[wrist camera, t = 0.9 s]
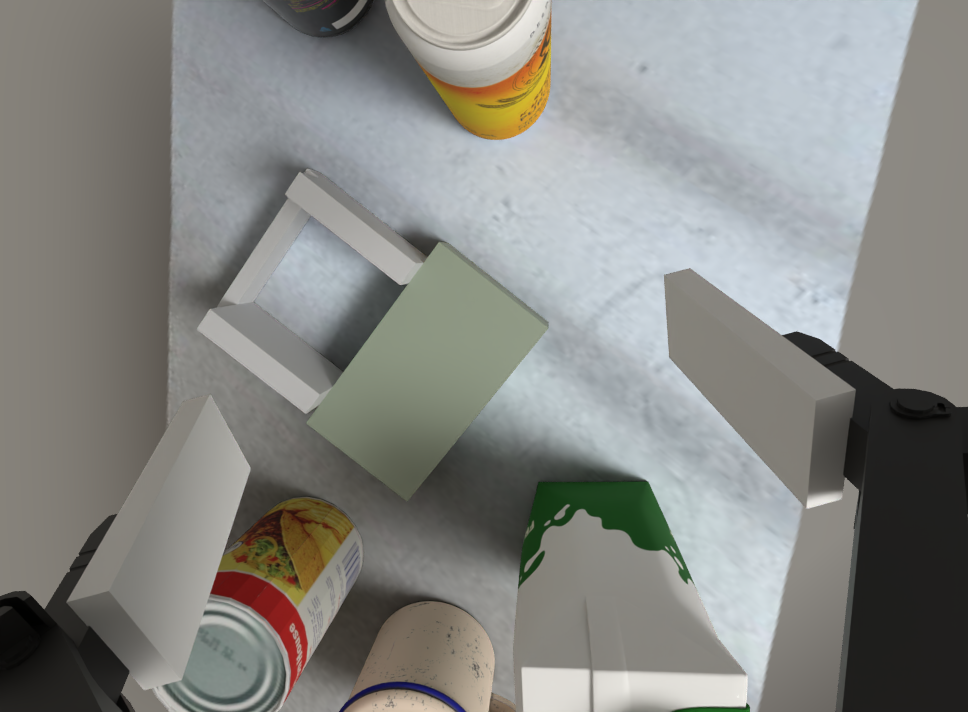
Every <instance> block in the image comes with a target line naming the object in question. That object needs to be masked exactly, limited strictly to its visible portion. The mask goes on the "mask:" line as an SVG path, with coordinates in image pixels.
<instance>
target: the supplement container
mask: <svg viewBox="0 0 968 712" xmlns="http://www.w3.org/2000/svg"><path fill="white" fill-rule="evenodd" d="M263 1H264V2H265V3H266V4H267V5H268V6H270V7H271V8H272V9H273V10H274V11H275V12H276V13H277V14H279V15H280V16H281V17H282V18H283V19H284V20H285V21H286V22H288V23H289V24H290V25H291V26H292V27H294V28H295V29H297V30H298V31H300V32H302V33H304V34H307V35H310V36H314V37H333V36H337V35H341V34H343V33H345V32H347V31H349V30H351V29H352V28H354V27H355V26H356V25H357V24H359V23H360V22H361V20H362V19H363V18H364V17H365V16H366V14H367V13H368V11H369V9H370V8H371V5H372V3H373V1H374V0H263Z"/></svg>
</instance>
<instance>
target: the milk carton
mask: <svg viewBox="0 0 968 712" xmlns="http://www.w3.org/2000/svg"><path fill="white" fill-rule="evenodd" d="M513 658H514V680H515V702H516V712H750V707H749V705H748V704H747V703H746V698H747V674H746V672H745V671H744V670H743V669H742V667H741V666H740V665H739V664H738V662H737V661H736V660H735V659H734V657H733V656H732V655H731V654H730V652H729V651H728V650H727V649H726V648H725V646H724V645H723V644H722V643H721V641H720V640H719V639H718V636H717V634H716V632H715V630H714V627H713V625H712V623H711V621H710V618H709V616H708V614H707V612H706V609H705V607H704V605H703V603H702V600H701V598H700V596H699V594H698V591H697V589H696V587H695V585H694V582H693V580H692V578H691V576H690V573H689V571H688V569H687V567H686V564H685V562H684V560H683V558H682V555H681V553H680V551H679V549H678V546H677V544H676V542H675V540H674V537H673V535H672V533H671V531H670V529H669V526H668V524H667V522H666V520H665V518H664V515H663V513H662V511H661V509H660V507H659V504H658V502H657V500H656V498H655V496H654V493H653V491H652V489H651V487H650V484H649V482H647V481H642V482H538V486H537V490H536V494H535V498H534V502H533V506H532V510H531V514H530V518H529V522H528V526H527V530H526V534H525V537H524V542H523V547H522V554H521V563H520V574H519V584H518V595H517V607H516V618H515V629H514V643H513Z"/></svg>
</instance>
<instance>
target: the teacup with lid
mask: <svg viewBox="0 0 968 712" xmlns="http://www.w3.org/2000/svg"><path fill="white" fill-rule="evenodd" d="M494 664H495V660H494V651H493V647H492V644H491V642H490V639H489V637H488V635H487V633H486V632H485V630H484V629H483V628H482V626H481V625H480V624H479V623H478V622H477V621H476V620H475V619H474V618H473V617H472V616H471V615H469V614H468V613H466V612H465V611H463V610H461V609H459V608H457V607H455V606H452V605H450V604H446V603H442V602H434V601H425V602H417V603H413V604H410V605H407V606H405V607H403V608H401V609H399V610H398V611H396V612H395V613H393V614H392V615H391V616H390V617H389V618H388V619H387V620H386V621H385V623H384V624H383V625H382V627H381V629H380V631H379V633H378V635H377V637H376V639H375V642H374V644H373V646H372V648H371V651H370V653H369V655H368V657H367V659H366V662H365V664H364V666H363V668H362V671H361V673H360V675H359V677H358V680H357V682H356V684H355V686H354V688H353V691H352V693H351V695H350V697H349V700H348V701H347V702H346V703H345V704H344V706H343V707H342V708H341V710H340V711H339V712H516V705H515V704H513V703H512V702H511V701H509V700H507V699H505V698H503V697H501V696H499V695H496V694H494V693H492V692H491V689H492V682H493V674H494Z"/></svg>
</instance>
